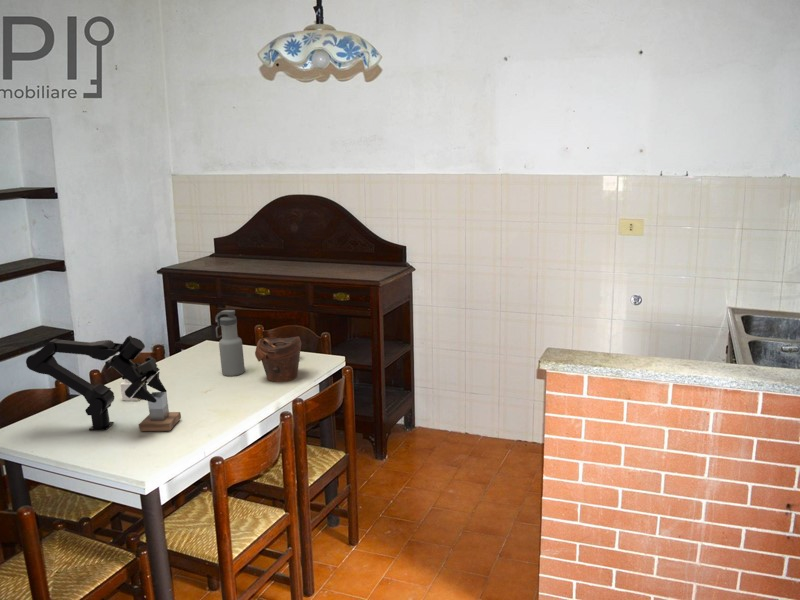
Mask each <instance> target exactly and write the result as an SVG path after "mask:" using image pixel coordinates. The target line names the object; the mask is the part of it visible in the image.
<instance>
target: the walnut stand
mask: <svg viewBox="0 0 800 600" xmlns="http://www.w3.org/2000/svg"><path fill="white" fill-rule="evenodd" d="M181 414H182V413H181V412H180V411H169V416H168V417H167V418H166V419H165V420H164V421H150V414H149V413H148V415H147V416H146V417H145V418H144V419H143V420H142V421H141V422H139V424H138V430H139V432H168V431H171V430H172V429H173V427H175V426H176V424H177V423H178V422H179V421H180V420H181V419H182V415H181Z"/></svg>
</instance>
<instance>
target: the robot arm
mask: <svg viewBox="0 0 800 600" xmlns="http://www.w3.org/2000/svg"><path fill="white" fill-rule="evenodd" d="M145 346H146V345H145V344H144V342H143V341H142V340H141V339H138V338H137V337H132V336H131V335H128V336H127V337H126V338H125V339H124V341H123V342H122V343H120V342H118V343H117V342H114V341H113V340H110V339H108V340H107V339H106V340H97V341H92V342H91V341H90V342H89V341H78V340H77V341H76V340H69V339H68V340H66V339H60V338H54V339H52V340H50V341H48V342H47V343H46V344H45V345H44V346H43V347H41V349H39V350H37V351H36V352H34V353H33V354H31V355H29V356H27V357H26V360H25V364H26V367H27V369H29V370H30V371H32V372H35V373H36V374H37V373H38V374H40V375H47V376H51V378H53V379H55V380H57V381H58V382H60V383H61V384H63V385H65V386H67V387H68V388H70V390H71V389H72V390H73V391H75V392H76V393H78V394H79V395H81V396H82V397H84V399H85V401H86V403H87V404H89V405H88V406H87V408H85V410H84V412H85V413H86V415H87V416H91V417H90V418H91V425H92V426H90V427H89V428H88V431H107V430H108V429H109V428H110V427H112V425H113V424H114V423H115V422H114V421H110V415H109V408H110V407H111V406H112V403H113V402H114V401H115V392H113V391H112V390H111V389H112V388H111V387H108V386H106V384H104V383H102V382H100V383H99V384H96V385H95V384H92V383H90V382H88V381H87V380H86V379H84V378H82V377H80V376H79V375H77V374H76V373H73V372H72V371H71V370H69V369H67V368H66V367H64V366H62V365H60V363H58V361H57V360H56V357H54V356H55V355H56V354H57V353H60V354H61V353H62V354H71V355H73V354H74V355H82V356H83V355H84V356H88V357H90V358H91V359H95V360H99V361H105V370H109V369H110V368H113V369H114V370H115V371H116V372H118V373H119V374H120V375H121V376H122V377H121V379H122V380H123V381H125V378H126V379H127V380H128V381H129V382H131V383H132V384H131V385H130V386H129V387H128V388H127V389H126V391H125V395H126V396H127V397H128V398H130V397H132V396H133V394H134V396H133V397H132V398H137V399H140V400H142V401H147V402H148V401H150V402H153V403H155V402H156V401H157V400H156V399H155V398H154V397H153V396H152V395H151V393H152V392H150V391H149V390H148V388H147V389H146V386H148V387H150V388H152V389H154V390H157V392H166V393H167V389H166V387H165V386H164V384H163V383H162V381H161V379H160V368H159V367H158V364H157V359H155V358H154V357H153V356H151V355H149V356H148V357H146V358H145V361H144V362H143V363H141V364H140V363H139V362H135V363H134V362H133V361H132V360H135V359H136V358H137V357H138V356H139V355H140V354H141V353H142V351H143V350H145V348H146V347H145ZM108 359H110V360H108ZM143 383H146V385H145V384H144V385H142V384H143Z"/></svg>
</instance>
